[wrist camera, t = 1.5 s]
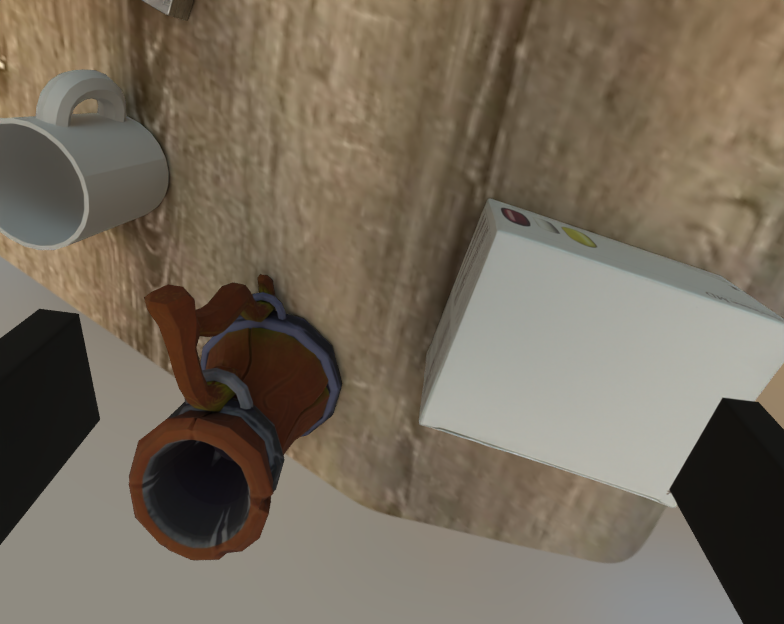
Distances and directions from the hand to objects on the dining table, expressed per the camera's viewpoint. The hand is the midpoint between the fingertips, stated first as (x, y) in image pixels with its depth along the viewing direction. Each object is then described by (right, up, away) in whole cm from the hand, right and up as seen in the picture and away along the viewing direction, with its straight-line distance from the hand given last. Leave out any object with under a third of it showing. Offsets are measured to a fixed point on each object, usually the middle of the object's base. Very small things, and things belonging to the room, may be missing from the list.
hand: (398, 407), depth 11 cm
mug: (-10, 0, +30) cm, 31 cm away
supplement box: (+12, +2, +26) cm, 29 cm away
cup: (-19, +14, +25) cm, 34 cm away
